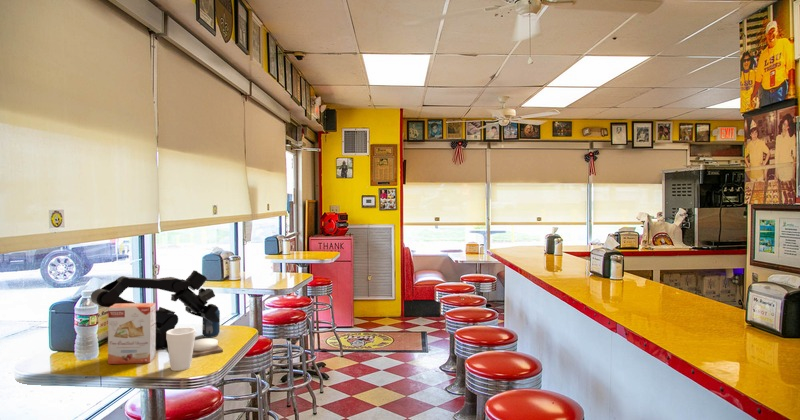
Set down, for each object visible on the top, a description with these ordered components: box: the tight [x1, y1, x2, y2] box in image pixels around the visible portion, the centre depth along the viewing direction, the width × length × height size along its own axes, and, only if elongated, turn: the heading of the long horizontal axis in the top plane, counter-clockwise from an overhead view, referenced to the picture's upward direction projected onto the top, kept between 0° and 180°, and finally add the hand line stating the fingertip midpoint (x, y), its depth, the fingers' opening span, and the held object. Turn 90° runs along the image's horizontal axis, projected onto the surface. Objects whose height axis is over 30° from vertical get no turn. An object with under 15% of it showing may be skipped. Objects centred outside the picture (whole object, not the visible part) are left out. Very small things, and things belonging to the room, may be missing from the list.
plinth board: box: [192, 337, 224, 359], centre depth 175 cm, size 16×16×3 cm
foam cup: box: [166, 326, 197, 372], centre depth 156 cm, size 10×9×13 cm
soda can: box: [201, 308, 221, 338], centre depth 195 cm, size 7×7×12 cm
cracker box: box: [107, 302, 157, 365], centre depth 161 cm, size 14×6×21 cm, turn 101°
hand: (214, 319), depth 196 cm, fingers open, 8 cm apart
